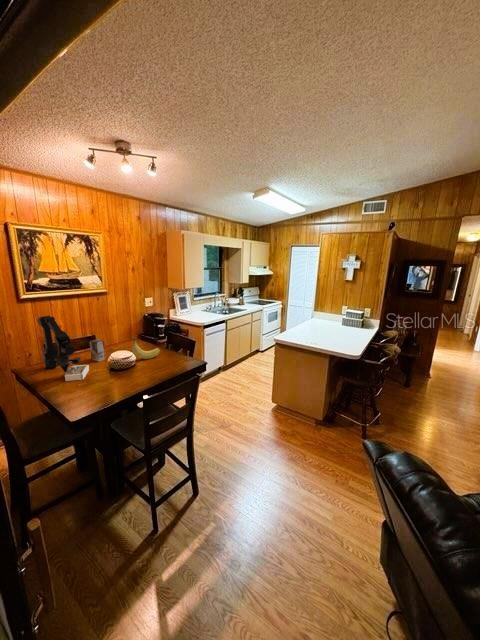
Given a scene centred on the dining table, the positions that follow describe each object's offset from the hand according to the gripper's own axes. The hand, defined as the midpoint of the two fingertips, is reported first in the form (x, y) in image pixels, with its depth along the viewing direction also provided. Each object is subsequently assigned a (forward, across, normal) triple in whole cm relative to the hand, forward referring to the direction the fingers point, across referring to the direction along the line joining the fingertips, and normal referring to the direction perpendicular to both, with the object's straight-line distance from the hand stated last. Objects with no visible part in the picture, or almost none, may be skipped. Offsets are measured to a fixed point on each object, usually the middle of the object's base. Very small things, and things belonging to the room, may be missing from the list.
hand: (65, 372), depth 186 cm
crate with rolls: (+3, +4, 0) cm, 5 cm away
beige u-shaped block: (+3, +7, 0) cm, 7 cm away
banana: (+2, +52, +24) cm, 58 cm away
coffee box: (+3, +14, +29) cm, 33 cm away
